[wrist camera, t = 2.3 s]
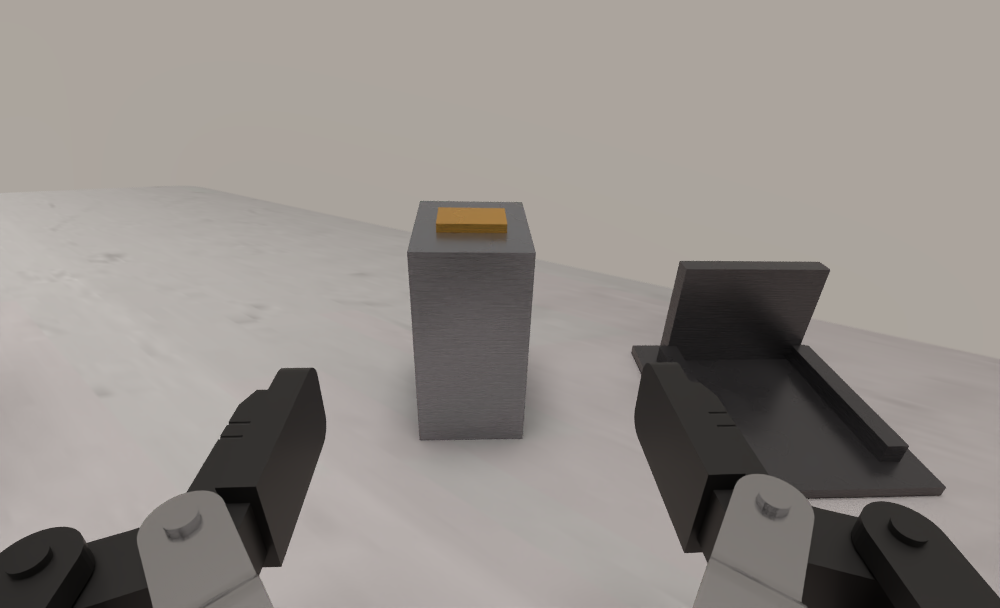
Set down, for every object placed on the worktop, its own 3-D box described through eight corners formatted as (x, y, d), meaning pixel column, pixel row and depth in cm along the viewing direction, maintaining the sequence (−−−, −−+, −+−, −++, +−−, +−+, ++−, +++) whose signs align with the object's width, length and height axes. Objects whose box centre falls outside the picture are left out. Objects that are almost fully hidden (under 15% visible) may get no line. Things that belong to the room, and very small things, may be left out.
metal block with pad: (522, 438, 25) (536, 243, 20) (419, 440, 25) (406, 242, 19) (513, 364, 30) (522, 194, 25) (428, 365, 30) (419, 193, 25)
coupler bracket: (940, 494, 23) (1020, 380, 19) (701, 500, 22) (741, 383, 19) (801, 351, 32) (839, 258, 29) (631, 352, 31) (650, 257, 28)
